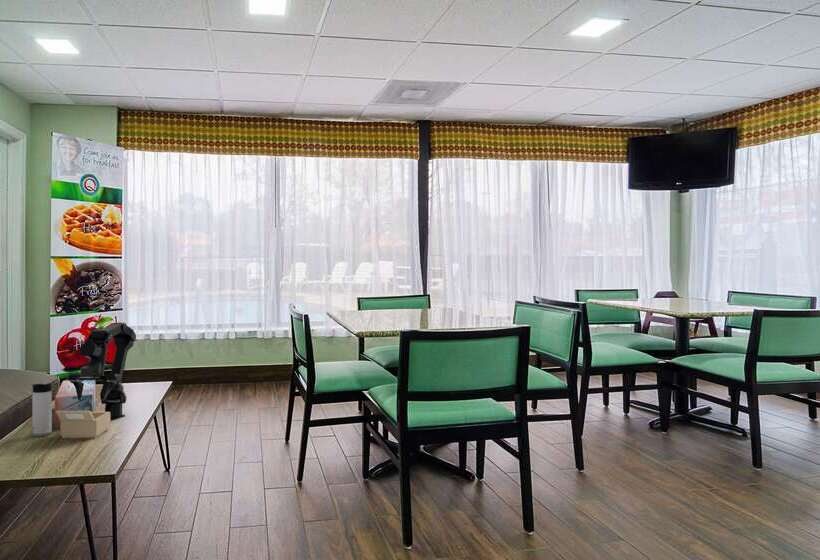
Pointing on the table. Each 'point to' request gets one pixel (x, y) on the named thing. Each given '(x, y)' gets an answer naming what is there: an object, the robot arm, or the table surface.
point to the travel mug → (41, 410)
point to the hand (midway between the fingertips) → (91, 400)
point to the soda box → (75, 398)
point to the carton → (86, 426)
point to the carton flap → (75, 415)
